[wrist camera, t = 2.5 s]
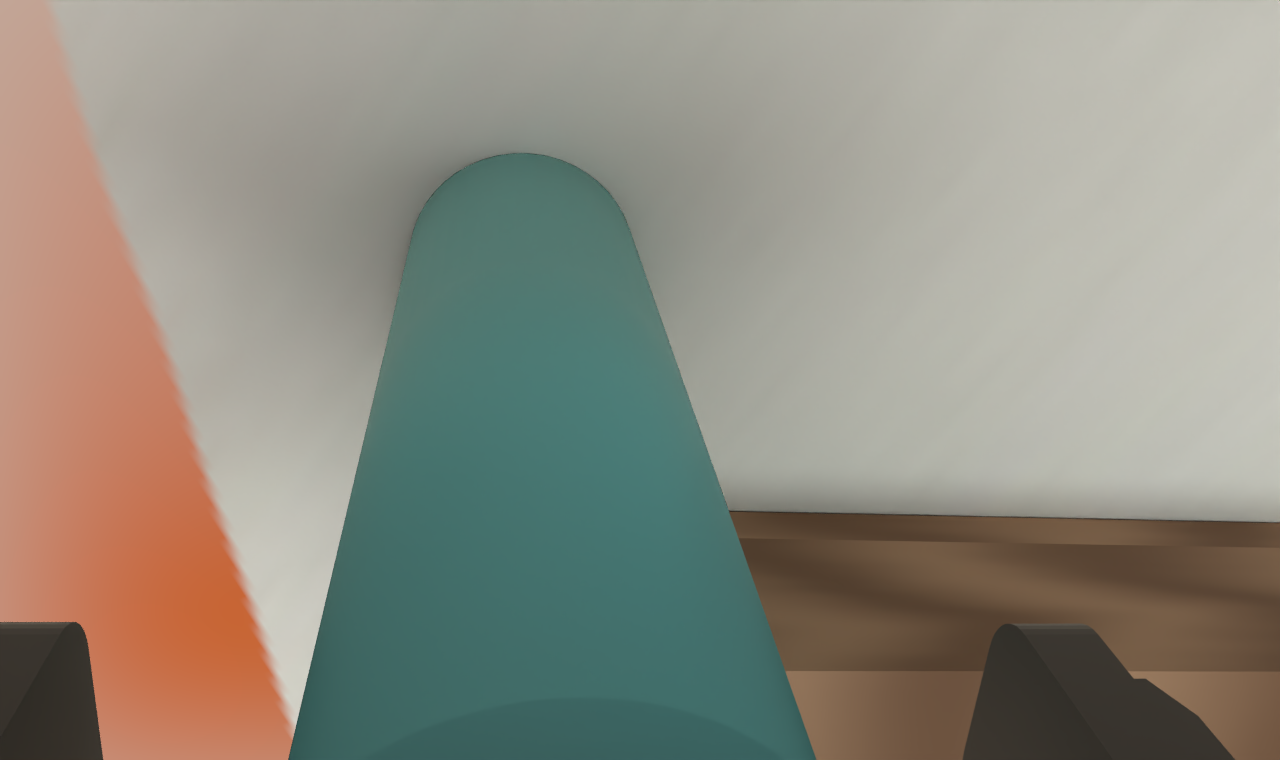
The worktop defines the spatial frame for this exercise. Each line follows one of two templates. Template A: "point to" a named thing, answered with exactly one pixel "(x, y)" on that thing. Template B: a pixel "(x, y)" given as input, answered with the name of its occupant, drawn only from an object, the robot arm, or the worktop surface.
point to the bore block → (1010, 617)
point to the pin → (538, 512)
